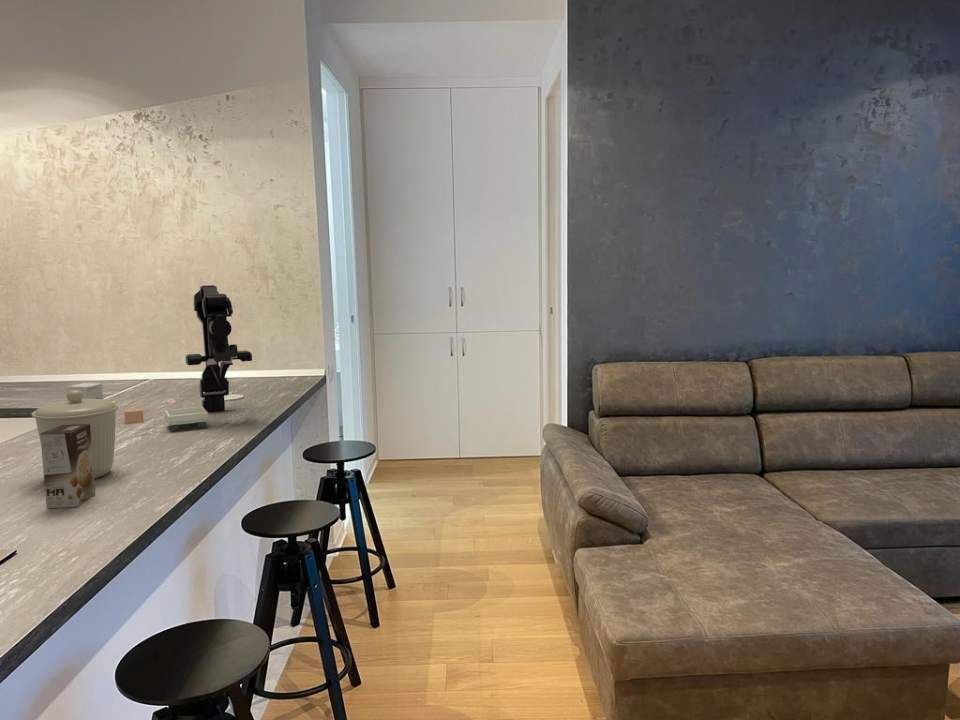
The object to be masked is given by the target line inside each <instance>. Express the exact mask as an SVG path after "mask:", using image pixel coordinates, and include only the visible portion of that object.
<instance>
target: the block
mask: <svg viewBox="0 0 960 720" xmlns="http://www.w3.org/2000/svg"><path fill="white" fill-rule="evenodd" d="M143 410H144V409H143V408H142V407H135V408H127V409H126V408H125V409H124V411H123V412H124V413H123V414H124V422H125V423H124V424H125V425H130V424H140V423H145V422H144V411H143Z"/></svg>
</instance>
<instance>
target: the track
mask: <svg viewBox="0 0 960 720" xmlns="http://www.w3.org/2000/svg"><path fill="white" fill-rule="evenodd" d="M194 424H195V425H198V423H194ZM184 425H190V423H187V424H184ZM168 427H170V428H171V426H170V425H168ZM159 428H160V429H161V428H162V426H161V427H160V426H159V427H158V426H157V427H156V429H159ZM149 429H153V427H150V428H146V430H149ZM198 429H199V427H197V428H196V430H198ZM200 429H201V430H202V429H203V428H200ZM205 429H209V427H205ZM138 430H139V431H140V430H143V429H137V431H138ZM191 430H194V428H191V429H188V431H191ZM130 431H134V429H132V430H131V429H130ZM182 431H183V429H179V430H178V432H182ZM173 432H174V433H175V432H176V431H172V430H171V431H169V433H173ZM163 433H165V434H166V431H163V432H161V434H163ZM156 434H158V432H153V433H152V435H156ZM146 435H147V436H148V435H150V433H144V434H143V436H146ZM137 436H141V434H138V435H133V437H137Z"/></svg>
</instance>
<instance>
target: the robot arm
mask: <svg viewBox="0 0 960 720" xmlns="http://www.w3.org/2000/svg"><path fill="white" fill-rule="evenodd" d="M193 311H194V312H196V313H195V314H196V317H197V319H198V321H199V322H200V323H201V326H202V327H201V328H202V336H203V338H202V339H203V350H204V351H203V352H204V355H202V354H200V353H187V354H186V356H185V364H186V365H187V366H199V365H201V364H202V363H204V364H205V367H204V370H203V371H202V373H201V379H199V396H200V398H202V400H201V407H203V408H204V409H205V410H206V411H207V412H208V413H217V412H218V413H219V412H222V411H226V405H225V404H226V403H225V396H229V395H230V389H229V388H230V381H229V380H228V379H227V377H226V374H227V371H228V369H229V368H230V366H234V362H233V361H234V360H240V362H242V363H243V362H251V361H253V354H252V353H251V352H250V351H248V350H238V345H237V343H236V344H229V336H230V334H231V332H232V325H231V323H230V322H229V321H228V320H227V317H228V318H229V317H232V316H233V314H234V310H233V304H232V301H231V300H230V297H228V295H227V294H226V293H220V292H219V291H218V287H217V285H212V284H211V285H208V284H207V285H201V286H200V287H199V291H197V292H196V293H195V294H194V295H193Z"/></svg>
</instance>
